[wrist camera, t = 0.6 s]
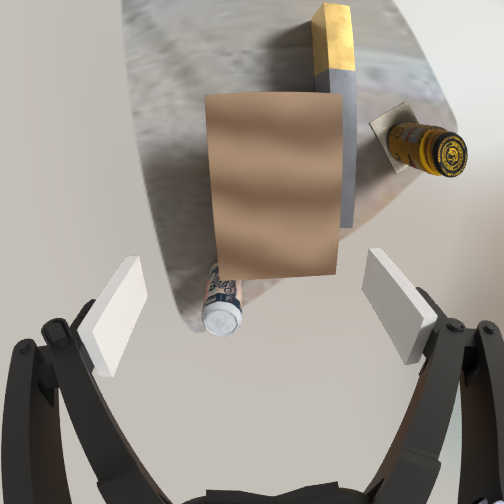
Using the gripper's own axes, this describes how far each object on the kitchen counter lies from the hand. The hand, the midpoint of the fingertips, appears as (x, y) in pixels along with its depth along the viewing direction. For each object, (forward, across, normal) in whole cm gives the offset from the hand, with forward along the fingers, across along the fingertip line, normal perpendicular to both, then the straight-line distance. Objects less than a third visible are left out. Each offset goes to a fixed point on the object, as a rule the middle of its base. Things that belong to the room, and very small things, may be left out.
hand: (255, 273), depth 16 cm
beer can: (+24, -4, -14) cm, 28 cm away
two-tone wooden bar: (+24, +10, +9) cm, 28 cm away
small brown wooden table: (+24, +2, +2) cm, 24 cm away
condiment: (+25, +22, +7) cm, 34 cm away
